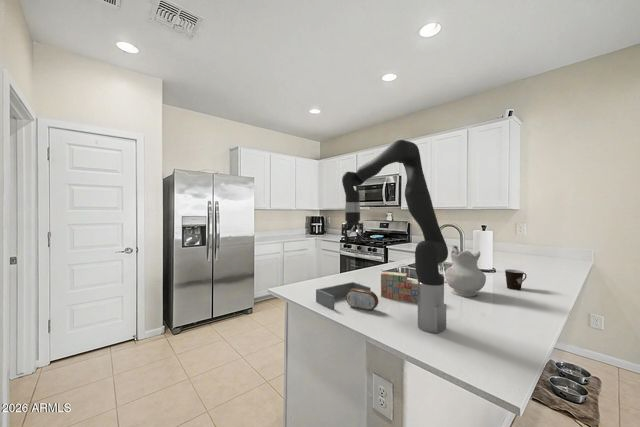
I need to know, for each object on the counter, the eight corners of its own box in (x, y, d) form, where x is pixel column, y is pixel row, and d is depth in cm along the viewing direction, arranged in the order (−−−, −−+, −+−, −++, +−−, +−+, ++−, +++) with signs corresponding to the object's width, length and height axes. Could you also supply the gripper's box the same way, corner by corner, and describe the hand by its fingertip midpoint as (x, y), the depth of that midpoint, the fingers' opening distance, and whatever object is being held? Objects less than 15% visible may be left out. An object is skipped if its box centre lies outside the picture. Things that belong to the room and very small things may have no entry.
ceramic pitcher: (434, 290, 154) (432, 247, 153) (462, 285, 160) (459, 243, 159) (465, 303, 133) (463, 253, 132) (495, 296, 139) (493, 248, 138)
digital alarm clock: (378, 310, 120) (378, 291, 120) (376, 312, 118) (376, 293, 118) (347, 304, 128) (347, 286, 128) (344, 306, 125) (345, 288, 125)
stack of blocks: (426, 300, 135) (426, 275, 135) (424, 303, 129) (424, 278, 129) (383, 293, 145) (383, 270, 144) (380, 297, 139) (380, 273, 139)
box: (370, 299, 135) (370, 287, 135) (332, 309, 121) (332, 296, 121) (352, 293, 145) (352, 281, 145) (316, 301, 131) (316, 289, 131)
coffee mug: (508, 290, 151) (508, 272, 151) (502, 285, 160) (502, 269, 159) (532, 291, 148) (532, 273, 148) (525, 287, 156) (525, 270, 156)
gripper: (348, 211, 129) (349, 245, 129) (367, 211, 138) (367, 243, 138) (337, 211, 134) (337, 244, 134) (355, 211, 144) (356, 242, 144)
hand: (352, 243), depth 136 cm, fingers open, 8 cm apart
